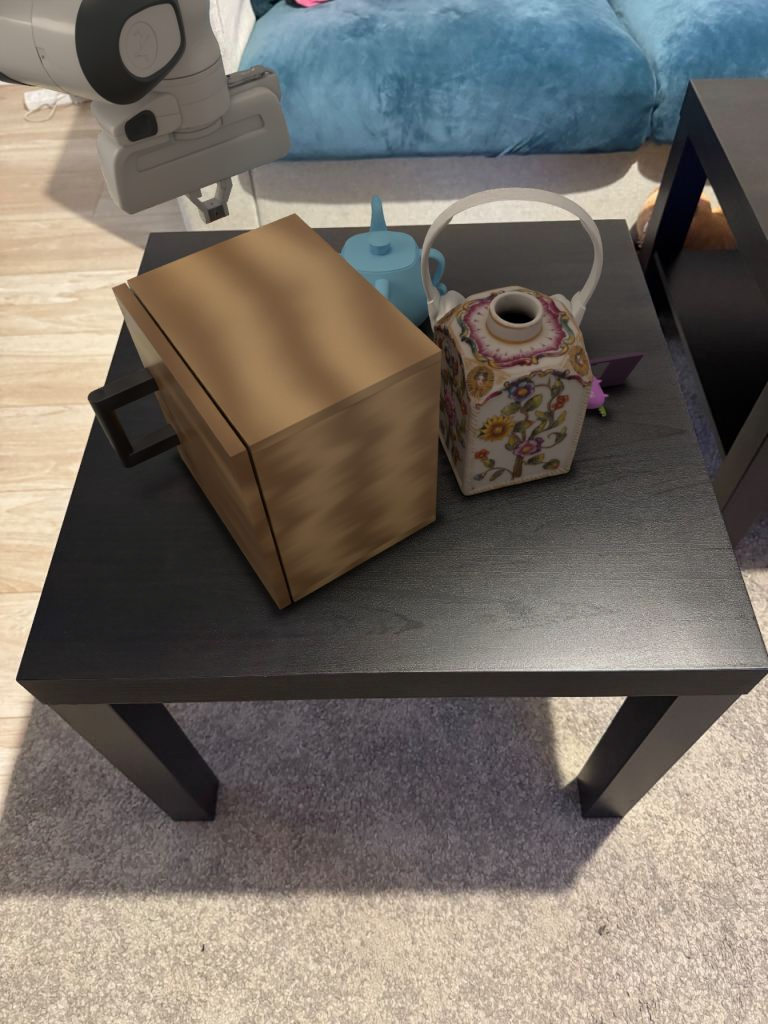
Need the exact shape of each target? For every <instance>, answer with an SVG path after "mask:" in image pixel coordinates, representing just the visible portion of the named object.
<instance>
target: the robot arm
mask: <svg viewBox="0 0 768 1024" xmlns="http://www.w3.org/2000/svg"><path fill="white" fill-rule="evenodd" d="M210 11H211V0H0V82H2V83H5V84H11V85H19V86H27V87H34V88H35V87H37V88H40V89H45V90H49V91H53V92H56V93H60V94H65V95H69V96H73V97H76V98H83V99H88V100H91V103H90V110H91V114H92V117H93V118H94V120H95V122H96V124H97V125H98V127H99V128H100V131H99V132H98V135H97V138H96V151H97V156H98V161H99V166H100V169H101V173H102V177H103V180H104V183H105V186H106V189H107V192H108V194H109V197H110V198H111V200H112V202H113V203H114V205H116V207H117V208H118V209H119V210H121V211H122V212H124V213H126V214H128V215H135V214H138V213H140V212H143V211H145V210H148V209H151V208H153V207H156V206H159V205H161V204H164V203H167V202H170V201H172V200H174V199H177V198H180V197H183V196H186V198H187V199H189V201H190V202H191V203H192V204H193V205H194V206H195V207H196V208H197V211H198V214H199V217H200V219H201V221H202V222H203V223H204V224H205V225H209V224H211V223H213V222H216V221H219V220H221V219H224V218H226V217H229V216H230V211H229V207H228V202H229V198H230V196H231V193H232V190H233V181H232V178H233V177H235V176H236V177H237V176H238V175H241V174H244V173H247V172H248V171H252V170H254V169H257V168H259V167H262V166H265V165H267V164H271V163H273V162H275V161H278V160H281V159H284V158H286V157H287V155H288V154H289V151H290V148H291V145H292V143H291V137H290V131H289V128H288V124H287V121H286V118H285V114H284V111H283V109H282V105H281V101H282V89H281V83H280V79H279V76H278V74H277V72H276V71H274V69H272V68H270V67H266V66H264V65H263V64H256V65H253V66H250V67H249V68H247V69H244V70H239V71H234V72H231V73H228V74H226V69H225V66H224V61H223V55H222V53H221V52H222V51H221V48H220V44H219V41H218V39H217V37H216V35H215V33H214V31H213V28H212V24H211V17H210V16H211V15H210V14H211V13H210ZM214 184H216V187H215V193H214V197H211V198H209V199H207V200H204V201H201V200H200V198H202V197H203V193H202V190H201V189H203V188H206V187H209V186H212V185H214Z"/></svg>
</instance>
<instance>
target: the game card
mask: <svg viewBox="0 0 768 1024" xmlns="http://www.w3.org/2000/svg"><path fill="white" fill-rule="evenodd" d="M644 356H645V355H644V351H638V352H632V353H631V352H630V353H624V354H618V355H613V356H606V357H599V358H593V359H590V364H591V367H594V366H597V365H598V364H605V363H608V364H607V365H606V367H605V368H604V369H603V371H602V373H601V374H600V375H599V377H598V379H597V377H596V376H595V375H593V378H594V381H593V386H592V389H591V393H590V396H589V400H588V405H587V408H586V410H587V409H588V410H595V409H598V411H599V414H601V417H606V416H607V413H606V412H607V411H606V409H605V408H604V406H603V405H604V403H605V401H606V398H608V397H609V394H608V393H607V394H606V393H604V391H603V389H602V388H607V387H612V386H613V387H614V386H618V385H622V384H624V383H625V381H626V380H627V379H628V377H629V376H630V374H631V373H632V372H633V371H634V369H635V368H636V367H637V365H638V364H639V362H640V361H641V360H642V359H643V357H644Z"/></svg>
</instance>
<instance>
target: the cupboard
mask: <svg viewBox="0 0 768 1024" xmlns="http://www.w3.org/2000/svg"><path fill="white" fill-rule="evenodd" d="M338 253H339V252H338V251H337V250H336V249H334V247H332V246H331V245H330V244H329V243H328V242H327V241H326V240H325V239H323V238H322V237H321V236H320V234H319V233H317V232H316V231H315V230H314V229H313V228H312V227H311V226H310V225H309V224H307V222H305V221H304V220H303V219H302V218H301V217H300V216H299V215H298V214H297V213H296V212H294V213H291V214H288V215H287V216H284V217H282V218H279V219H277V220H274V221H272V222H268V223H266V224H264V225H262V226H259V227H257V228H254V229H251V230H249V231H246V232H244V233H241V234H239V235H237V236H234V237H231V238H228V239H226V240H224V241H221V242H219V243H216V244H214V245H212V246H208V247H206V248H204V249H201V250H198V251H196V252H194V253H191V254H189V255H186V256H184V257H182V258H179V259H176V260H173V261H171V262H169V263H166V264H164V265H161V266H159V267H156V268H154V269H152V270H148V271H147V272H144V273H142V274H139V275H135V276H134V277H132V278H129V279H127V280H126V284H127V286H128V287H129V288H130V290H131V291H132V293H133V294H134V295H135V297H136V298H137V299H138V301H139V302H140V304H141V305H142V306H143V308H144V309H145V310H146V312H147V313H148V315H149V316H150V317H151V319H152V320H153V321H154V323H155V324H156V326H157V327H158V328H159V330H160V331H161V332H162V334H163V335H164V337H165V338H166V339H167V341H168V342H169V343H170V345H171V346H172V348H173V349H174V350H175V352H176V353H177V354H178V356H179V357H180V359H181V360H182V361H183V363H184V364H185V365H186V367H187V368H188V370H189V371H190V372H191V374H192V375H193V376H194V378H195V379H196V380H197V382H198V383H199V385H200V386H201V387H202V389H203V390H204V391H205V393H206V394H207V396H208V397H209V398H210V400H211V401H212V402H213V404H214V405H215V407H216V408H217V409H218V411H219V412H220V413H221V415H222V416H223V418H224V419H225V420H226V422H227V423H228V424H229V426H230V427H231V429H232V430H233V431H234V433H235V434H236V435H237V437H238V438H239V440H240V441H241V442H242V444H243V445H244V446H245V448H246V449H247V453H248V456H249V460H250V463H251V466H252V470H253V473H254V477H255V480H256V483H257V487H258V490H259V494H260V497H261V501H262V504H263V507H264V511H265V514H266V518H267V521H268V524H269V528H270V531H271V535H272V538H273V542H274V545H275V548H276V552H277V555H278V559H279V562H280V566H281V569H282V572H283V576H284V579H285V583H286V586H287V589H288V593H289V596H290V599H291V601H292V602H293V603H296V602H297V601H299V600H301V599H303V598H305V597H306V596H308V595H309V594H310V595H311V593H313V592H315V591H316V590H318V589H320V588H322V587H324V586H325V585H327V584H329V583H331V582H332V581H334V580H335V579H338V578H340V577H341V576H342V575H344V574H346V573H347V572H349V571H351V570H353V569H354V568H357V566H359V565H362V564H363V563H365V562H367V561H368V560H371V558H374V557H375V556H377V555H378V554H380V553H382V552H384V551H385V550H387V549H388V548H391V547H392V546H394V545H396V544H398V543H399V542H401V541H403V540H404V539H406V538H409V536H411V535H413V534H415V533H417V532H418V531H420V530H422V529H424V528H425V527H427V526H429V525H430V524H432V523H433V522H435V521H436V519H437V493H438V492H437V490H438V486H437V485H438V465H439V464H438V463H439V462H438V461H439V460H438V459H439V409H440V381H441V355H442V350H441V349H440V348H439V347H438V346H437V345H435V344H434V343H433V340H431V339H430V337H428V336H427V335H426V334H425V333H424V332H423V331H422V330H421V329H420V328H419V327H416V326H415V325H414V324H413V323H412V322H411V321H410V320H409V319H408V318H407V317H406V316H405V315H403V314H402V313H401V312H400V311H399V310H398V309H397V308H396V307H395V306H394V305H393V304H392V303H391V302H390V301H389V300H387V299H386V298H385V297H384V296H383V295H382V294H381V293H380V292H379V291H378V290H377V289H376V288H375V287H374V286H373V285H371V284H370V283H369V282H368V281H367V280H366V279H365V278H364V277H363V276H362V275H361V274H360V273H359V272H358V271H357V270H355V269H354V268H353V267H352V266H351V265H350V264H349V263H348V262H347V261H346V260H345V259H344V258H343V257H342V256H340V255H339V254H338Z"/></svg>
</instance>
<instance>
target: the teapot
mask: <svg viewBox="0 0 768 1024" xmlns="http://www.w3.org/2000/svg"><path fill="white" fill-rule="evenodd" d="M370 206H371V217H370V225H369V230H368V232H363V233H358V234H355V235H352V236H351V237H349V238H348V239H347V240H346V242H344V245H343V247H342V249H341V252H340V253H339V252H337V253H338V254H339V255H340V256H342V257H343V258H344V259H345V260H346V261H347V262H348V263H349V264H350V265H351V266H352V267H353V268H354V269H355V270H357V271H358V272H359V273H360V274H361V275H362V276H363V277H364V278H365V279H366V280H367V281H368V282H369V283H370V284H371V285H373V286H374V287H375V288H376V289H377V290H378V291H379V292H380V293H381V294H382V295H383V296H384V297H385V298H386V299H387V300H389V301H390V302H391V303H392V304H393V305H394V306H395V307H396V308H397V309H398V310H399V311H400V312H401V313H402V314H403V315H405V316H406V317H407V318H408V319H409V320H410V321H411V322H412V323H413V324H414V325H415V326H416V327H417V328H419V327H420V326H421V325H422V324H423V323H424V322H425V320H426V319H427V318H428V317H429V312H428V305H427V296H426V293H425V289H424V286H423V281H422V275H421V255H422V248H420V247H419V245H418V243H417V242H416V241H415V239H414V238H413V236H412V235H410V234H408V233H405V232H401V231H393V230H389V229H388V226H387V223H386V220H385V216H384V215H385V214H384V209H383V202H382V198H381V197H380V195H378V194H374V195H373V196H372V197H371V201H370ZM429 259H433V260H435V261H437V268H436V270H435V273H434V275H433V277H432V278H431V281H432V285H433V286H435V287H436V289H437V290H438V292H439V294H440V297H441V296H443V295H446V293H447V292H448V290H447V289H448V288H447V286H446V285H445V284H444V283H443V282H440V281H441V279H442V277H443V274H444V272H445V268H446V260H445V257H444V255H443V254H442V252H440V251H439V250H438V249H436V248H434V247H431V249H430V253H429Z"/></svg>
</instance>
